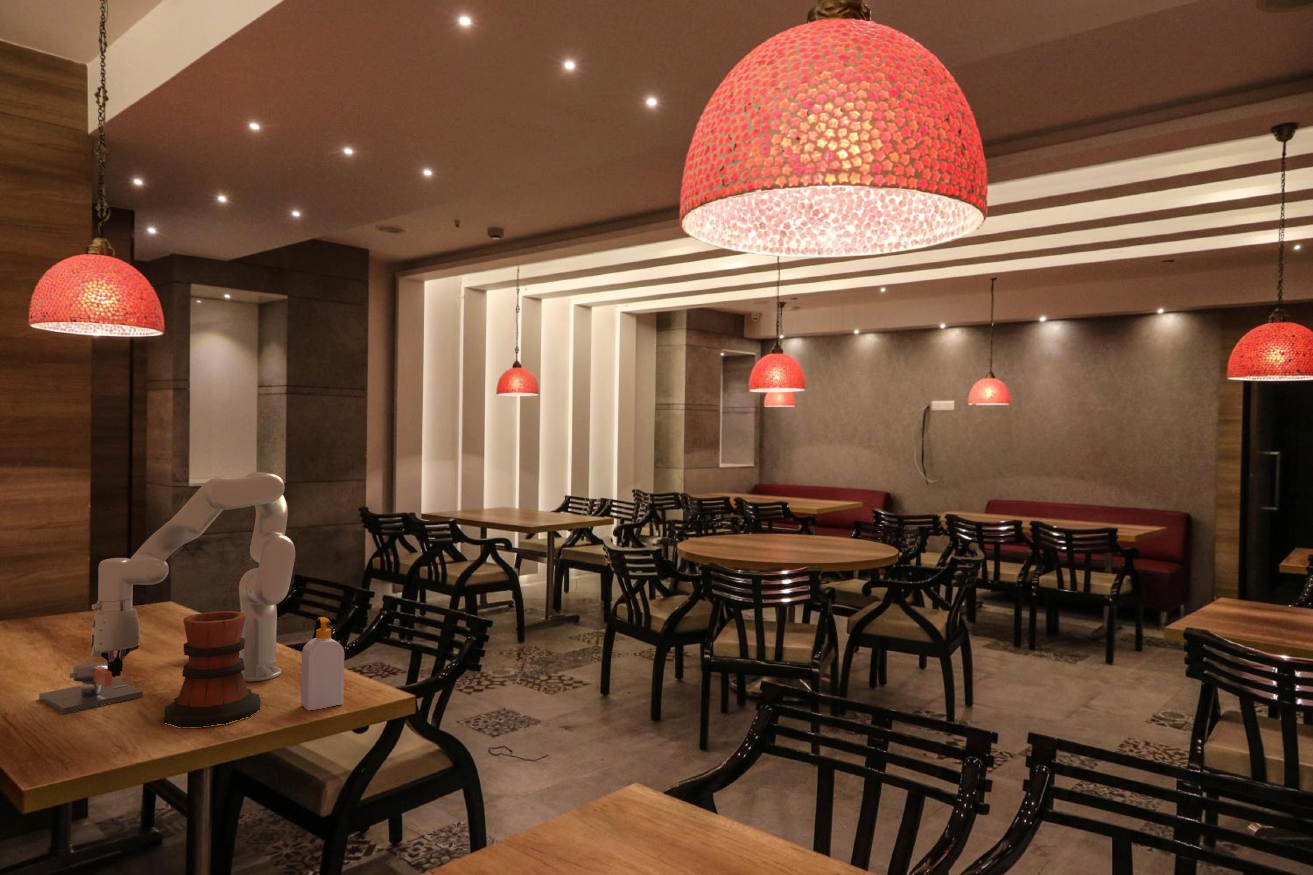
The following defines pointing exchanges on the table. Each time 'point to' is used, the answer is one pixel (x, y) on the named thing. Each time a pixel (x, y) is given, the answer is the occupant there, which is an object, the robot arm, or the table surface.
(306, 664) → the soap bottle
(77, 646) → the table surface
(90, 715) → the table surface
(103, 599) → the robot arm
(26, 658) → the table surface
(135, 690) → the post base
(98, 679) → the red lever handle
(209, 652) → the red-brown flared vessel
